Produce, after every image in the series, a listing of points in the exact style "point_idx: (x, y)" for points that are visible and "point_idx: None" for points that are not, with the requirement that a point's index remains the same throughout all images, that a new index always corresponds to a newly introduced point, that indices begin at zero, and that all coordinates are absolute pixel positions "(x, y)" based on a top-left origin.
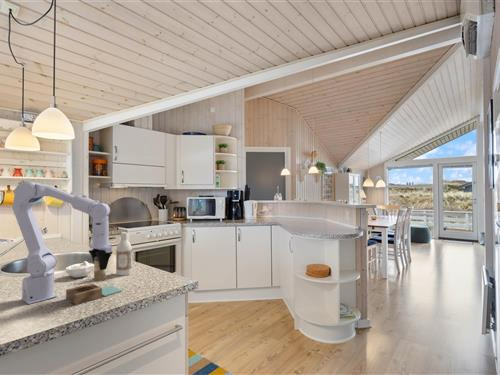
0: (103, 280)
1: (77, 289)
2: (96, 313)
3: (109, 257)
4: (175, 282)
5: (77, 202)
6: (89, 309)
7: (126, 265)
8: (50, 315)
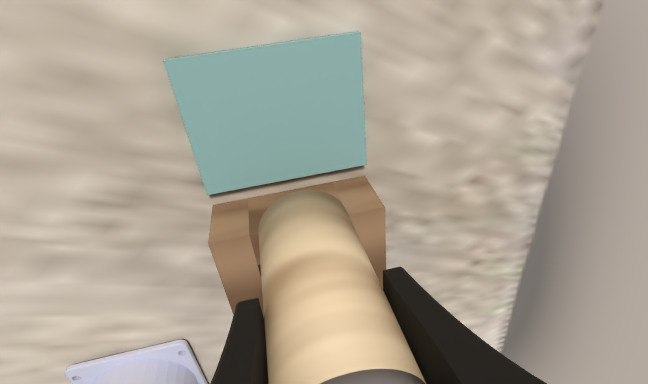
0: (346, 211)
1: None
2: (529, 232)
3: (537, 378)
4: None
5: None
6: (466, 246)
7: None
8: None
